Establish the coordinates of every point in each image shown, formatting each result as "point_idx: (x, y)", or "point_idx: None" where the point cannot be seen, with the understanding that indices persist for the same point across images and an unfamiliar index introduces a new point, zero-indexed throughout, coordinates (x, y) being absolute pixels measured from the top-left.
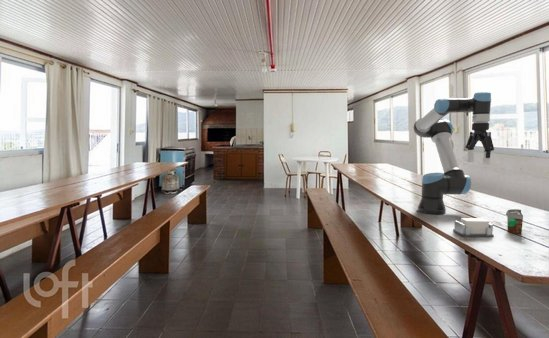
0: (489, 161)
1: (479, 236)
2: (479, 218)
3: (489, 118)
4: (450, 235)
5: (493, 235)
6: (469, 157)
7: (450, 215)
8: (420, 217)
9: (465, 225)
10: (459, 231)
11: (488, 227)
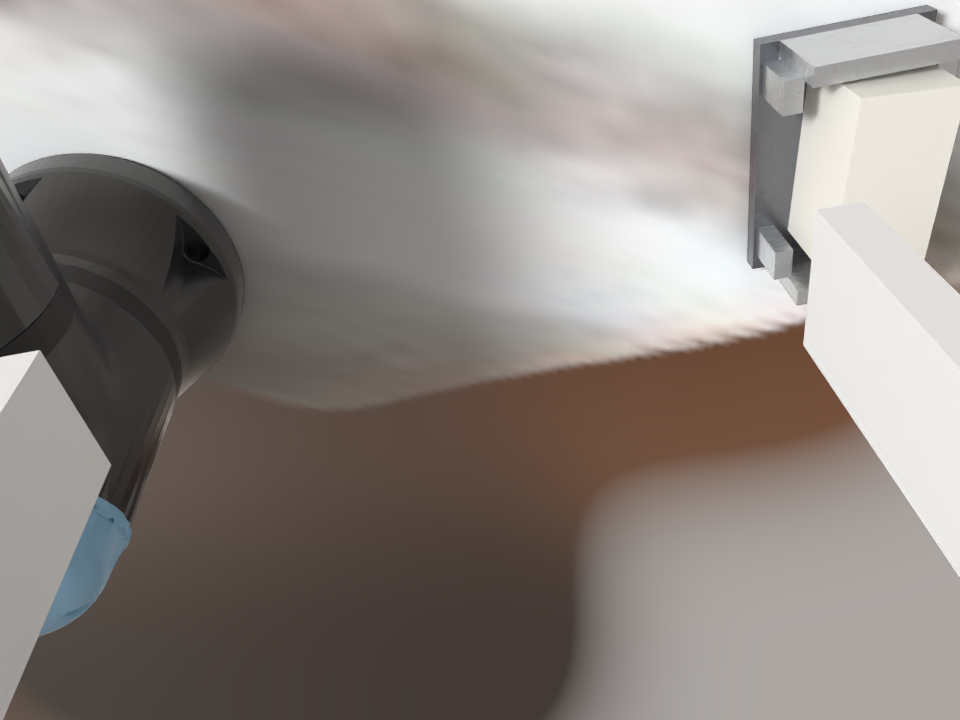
0: (907, 251)
1: None
2: (860, 133)
3: None
4: None
5: (933, 10)
6: (54, 551)
7: (230, 140)
8: (382, 391)
9: None
10: None
11: (936, 67)
